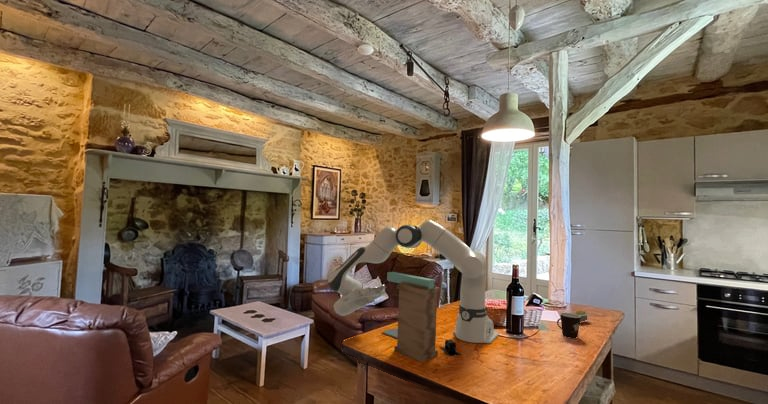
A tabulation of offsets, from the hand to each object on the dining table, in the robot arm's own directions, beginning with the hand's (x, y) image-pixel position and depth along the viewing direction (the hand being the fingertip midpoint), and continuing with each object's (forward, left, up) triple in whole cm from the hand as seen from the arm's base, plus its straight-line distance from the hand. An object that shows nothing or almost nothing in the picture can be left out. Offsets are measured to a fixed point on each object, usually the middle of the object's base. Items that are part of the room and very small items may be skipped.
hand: (376, 287), depth 155 cm
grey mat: (-11, +9, -22) cm, 26 cm away
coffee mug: (-73, +58, -22) cm, 96 cm away
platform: (-105, +56, -23) cm, 121 cm away
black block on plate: (-13, +31, -23) cm, 41 cm away
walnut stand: (0, +23, -22) cm, 32 cm away
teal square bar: (0, +19, +5) cm, 19 cm away
